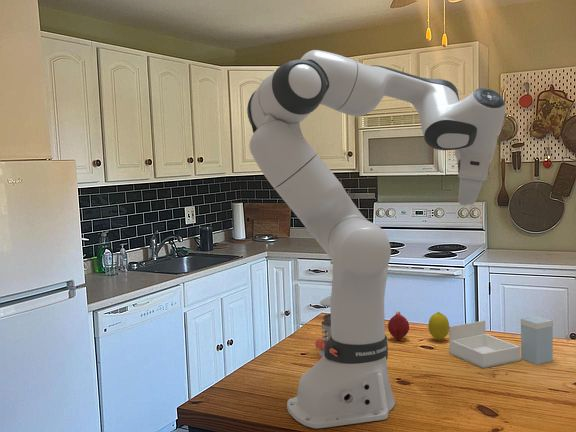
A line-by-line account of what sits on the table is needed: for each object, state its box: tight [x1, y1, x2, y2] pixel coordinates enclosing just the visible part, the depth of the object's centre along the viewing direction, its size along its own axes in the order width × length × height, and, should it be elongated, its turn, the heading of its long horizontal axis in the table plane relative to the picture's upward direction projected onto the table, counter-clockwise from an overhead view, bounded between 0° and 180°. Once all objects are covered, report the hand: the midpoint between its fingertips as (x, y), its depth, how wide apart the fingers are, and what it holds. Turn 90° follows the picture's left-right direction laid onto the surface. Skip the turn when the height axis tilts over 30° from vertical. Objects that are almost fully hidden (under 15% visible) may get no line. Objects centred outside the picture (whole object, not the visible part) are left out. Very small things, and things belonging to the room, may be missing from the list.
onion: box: [387, 310, 410, 341], centre depth 164 cm, size 6×6×8 cm
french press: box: [318, 259, 333, 358], centre depth 154 cm, size 10×12×25 cm
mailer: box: [448, 320, 521, 370], centre depth 147 cm, size 11×13×7 cm
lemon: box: [427, 311, 450, 341], centre depth 162 cm, size 6×6×8 cm
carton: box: [520, 315, 554, 366], centre depth 144 cm, size 5×5×10 cm
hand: (463, 189), depth 151 cm, fingers open, 8 cm apart
